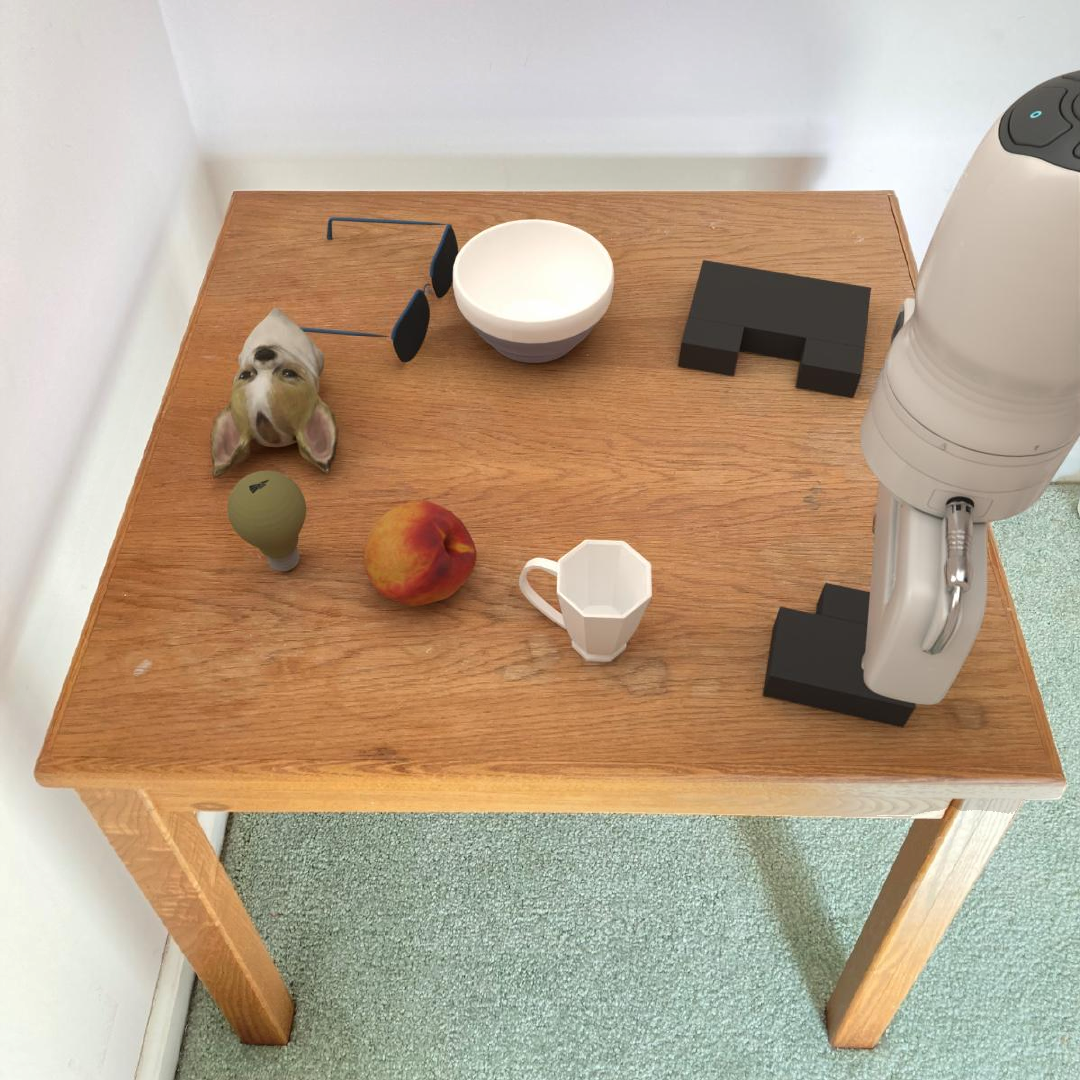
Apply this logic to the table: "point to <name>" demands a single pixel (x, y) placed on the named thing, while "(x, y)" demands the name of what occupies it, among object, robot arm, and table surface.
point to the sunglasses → (417, 312)
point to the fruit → (419, 553)
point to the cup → (596, 595)
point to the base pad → (778, 325)
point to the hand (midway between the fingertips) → (881, 592)
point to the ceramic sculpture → (275, 399)
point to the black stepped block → (828, 659)
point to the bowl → (533, 287)
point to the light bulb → (269, 516)
